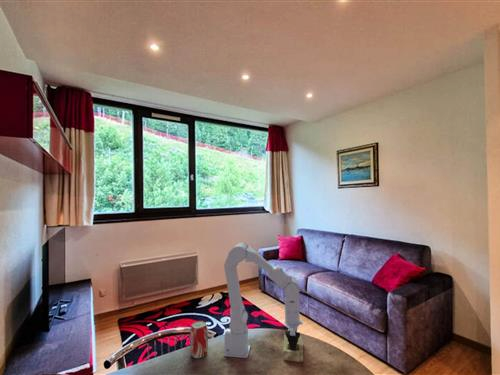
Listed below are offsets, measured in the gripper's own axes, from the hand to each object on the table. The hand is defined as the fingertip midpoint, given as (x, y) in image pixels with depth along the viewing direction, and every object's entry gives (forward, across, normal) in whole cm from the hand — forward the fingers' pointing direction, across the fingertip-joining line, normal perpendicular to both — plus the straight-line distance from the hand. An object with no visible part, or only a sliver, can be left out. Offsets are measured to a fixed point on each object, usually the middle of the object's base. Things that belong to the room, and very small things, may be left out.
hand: (293, 344), depth 100 cm
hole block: (+4, +3, 0) cm, 5 cm away
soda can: (+5, -4, +38) cm, 39 cm away
